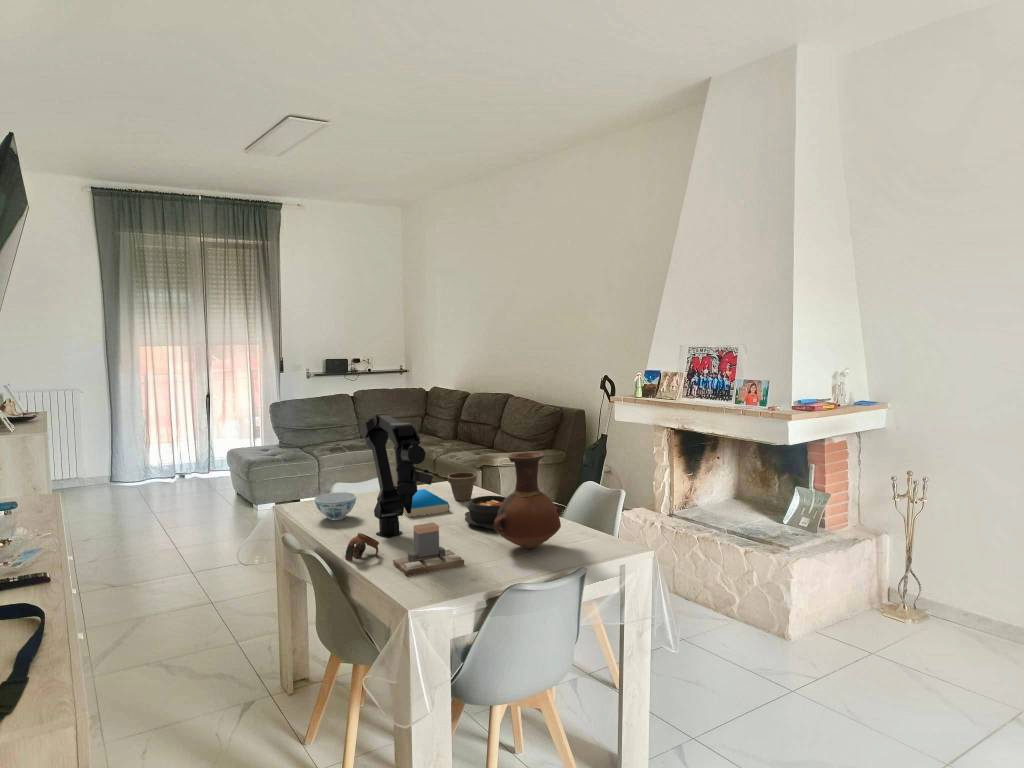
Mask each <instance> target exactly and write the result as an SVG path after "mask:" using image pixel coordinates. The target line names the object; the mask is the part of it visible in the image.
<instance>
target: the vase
mask: <svg viewBox="0 0 1024 768" xmlns="http://www.w3.org/2000/svg"><path fill="white" fill-rule="evenodd" d="M507 457H508V459H509V462H511V463H514V466H515V476H516V477H515V478H516V483H515V488H514V491H513V492H512V493H509V494H508V495H507V496H505V497H506V498H505V499H504V501H503V502H502V504H501V506H500V508H499V511H498V514H497V518H496V519H495V520H494V529H493V530H495V532H496V533H497V534H498V535H500V536H501V537H502V538H503V539H504V540H506V541H509V542H510V543H512V544H514V545H517V546H520V547H521V548H524V549H527V550H533V549H536V548H537V547H539V546H541V545H542V544H544V543H545V542H547V541H548V540H550V539H551V538H552V537H553V536H554V535H556V534H557V533H558V531H559V530H560V529H561V527H562V524H561V520H560V519H561V518H560V516H561V509H560V508H559V507H558V506H556V505H555V503H554V501H553V500H552V499H551V498H550V497H549V496H548V495H547V494H546V493H544V492H543V491H541V490H540V489H539V485H538V473H539V462H540V460H541V459H543V458H544V457H545V453H542V452H538V451H524V452H523V451H522V452H515V453H514V452H513V453H511V454H509V455H508V456H507Z"/></svg>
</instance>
